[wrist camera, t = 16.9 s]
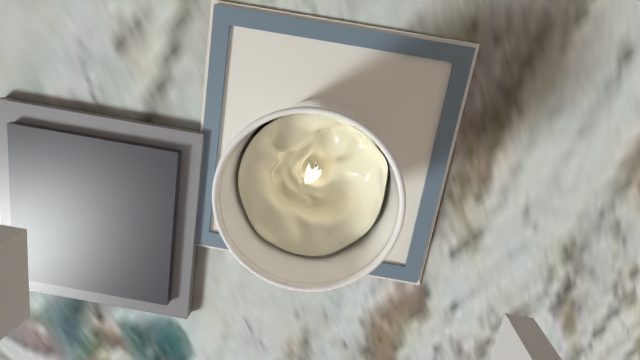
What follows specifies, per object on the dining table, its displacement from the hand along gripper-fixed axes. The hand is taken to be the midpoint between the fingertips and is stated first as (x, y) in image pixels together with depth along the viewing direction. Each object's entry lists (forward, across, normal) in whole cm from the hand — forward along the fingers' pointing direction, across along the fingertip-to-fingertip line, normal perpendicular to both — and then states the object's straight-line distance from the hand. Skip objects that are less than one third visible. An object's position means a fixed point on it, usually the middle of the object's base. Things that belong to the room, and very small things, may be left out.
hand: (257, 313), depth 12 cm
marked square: (+23, 0, 0) cm, 23 cm away
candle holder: (+23, 0, 0) cm, 23 cm away
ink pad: (+23, -16, -8) cm, 29 cm away
